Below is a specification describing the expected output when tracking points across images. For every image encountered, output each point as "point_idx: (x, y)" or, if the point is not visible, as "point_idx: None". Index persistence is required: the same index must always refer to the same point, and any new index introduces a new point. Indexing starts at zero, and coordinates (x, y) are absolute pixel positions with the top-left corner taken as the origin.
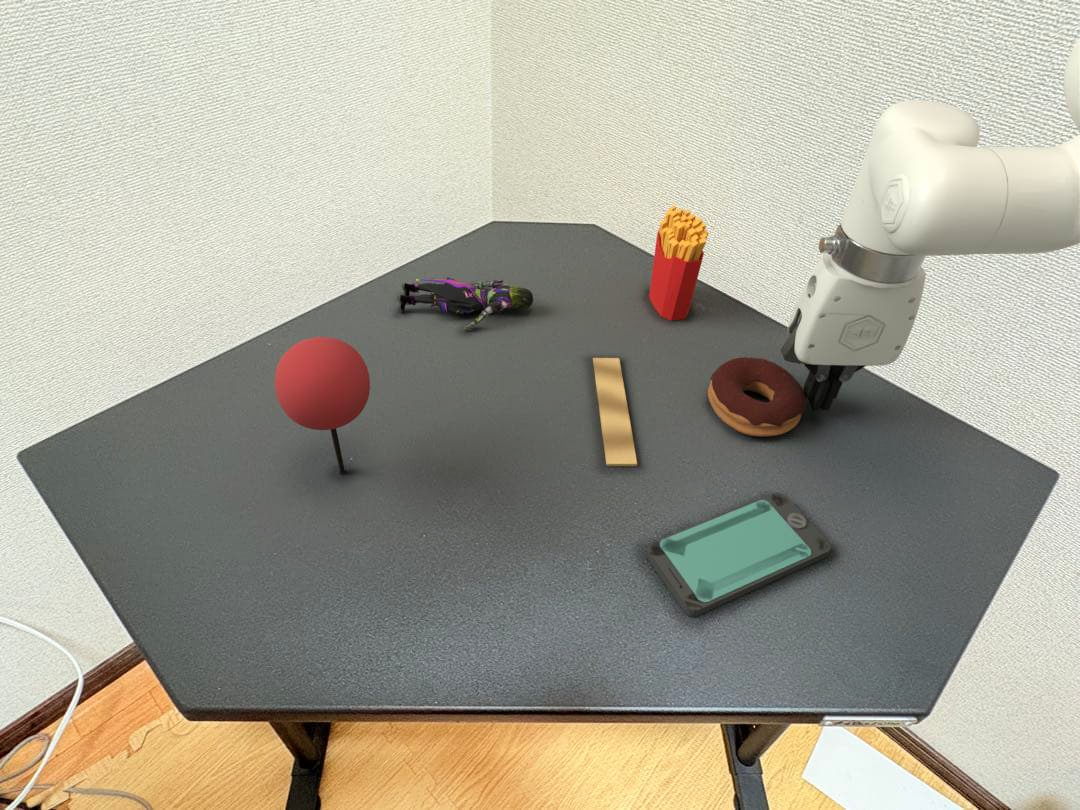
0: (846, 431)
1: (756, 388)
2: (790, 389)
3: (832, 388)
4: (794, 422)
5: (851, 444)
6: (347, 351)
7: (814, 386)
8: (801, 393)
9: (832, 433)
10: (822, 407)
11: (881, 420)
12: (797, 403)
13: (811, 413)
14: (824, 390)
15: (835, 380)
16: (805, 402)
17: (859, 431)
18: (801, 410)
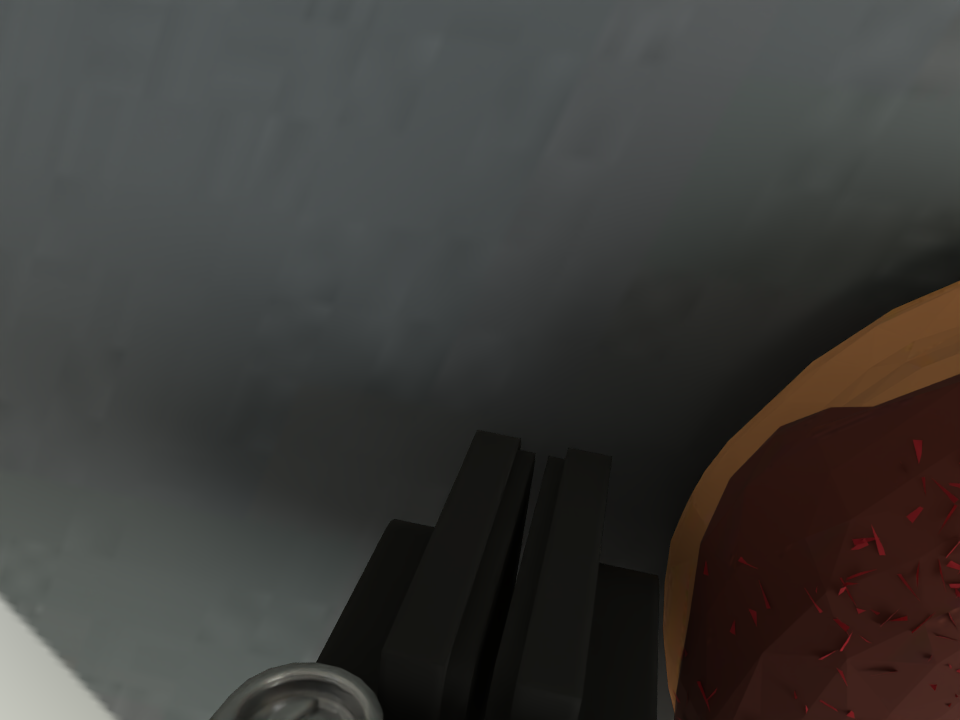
0: (374, 229)
1: None
2: (917, 710)
3: (465, 613)
4: (925, 337)
5: (392, 75)
6: None
7: (633, 684)
8: (783, 634)
9: (502, 226)
10: (531, 461)
11: (68, 295)
12: (940, 517)
13: None
14: (564, 609)
15: (414, 708)
16: (723, 532)
17: (269, 213)
18: (858, 437)
